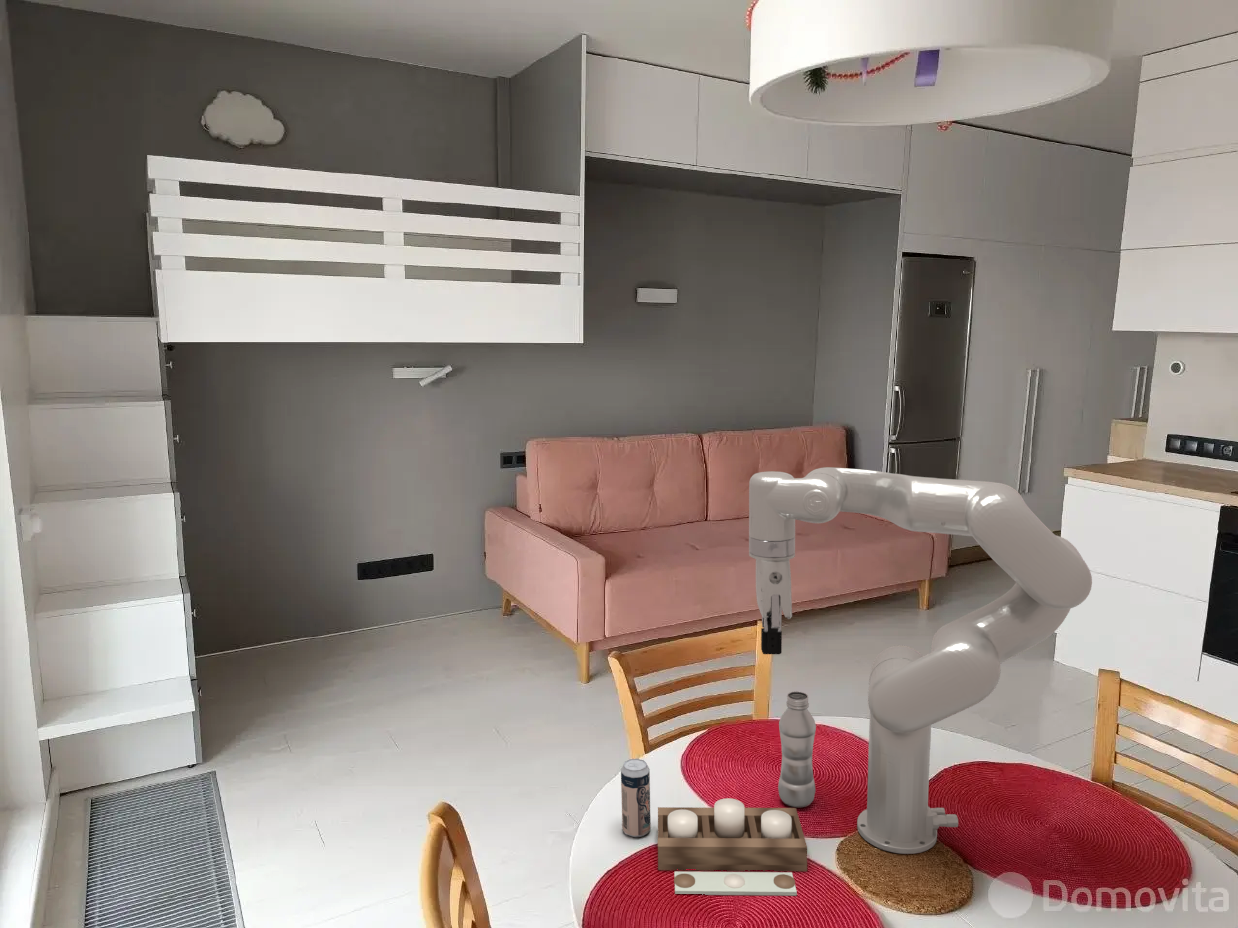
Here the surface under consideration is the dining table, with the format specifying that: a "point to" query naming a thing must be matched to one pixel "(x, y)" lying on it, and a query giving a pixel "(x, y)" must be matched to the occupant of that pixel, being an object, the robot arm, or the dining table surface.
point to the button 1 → (682, 824)
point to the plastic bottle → (797, 752)
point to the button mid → (729, 818)
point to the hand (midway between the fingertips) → (771, 652)
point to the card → (735, 883)
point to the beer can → (635, 797)
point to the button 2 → (776, 825)
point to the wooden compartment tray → (731, 845)
